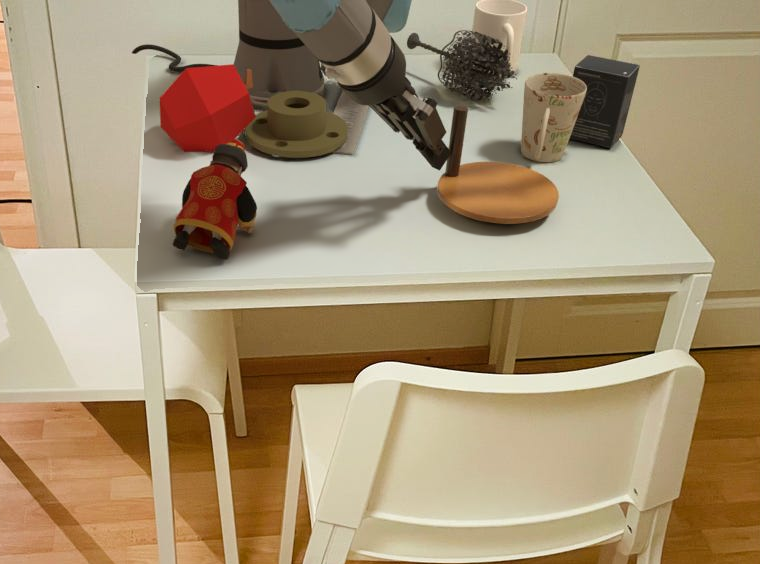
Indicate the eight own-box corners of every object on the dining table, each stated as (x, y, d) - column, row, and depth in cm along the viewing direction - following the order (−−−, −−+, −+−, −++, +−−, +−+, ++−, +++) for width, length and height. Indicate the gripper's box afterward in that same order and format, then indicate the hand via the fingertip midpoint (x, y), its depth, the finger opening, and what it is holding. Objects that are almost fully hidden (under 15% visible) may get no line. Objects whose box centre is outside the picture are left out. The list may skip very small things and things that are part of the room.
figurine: (243, 281, 117) (279, 181, 121) (233, 241, 108) (273, 134, 112) (171, 264, 118) (209, 165, 122) (156, 223, 109) (197, 118, 113)
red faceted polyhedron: (187, 182, 137) (278, 136, 138) (165, 131, 126) (265, 81, 126) (155, 123, 141) (244, 79, 142) (132, 68, 130) (228, 20, 130)
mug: (573, 145, 138) (588, 76, 131) (566, 183, 129) (583, 112, 122) (516, 137, 139) (528, 69, 132) (505, 174, 130) (518, 104, 124)
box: (622, 136, 140) (641, 64, 133) (610, 149, 136) (629, 76, 129) (571, 124, 143) (587, 53, 136) (558, 137, 139) (574, 64, 132)
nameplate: (352, 152, 134) (318, 149, 135) (352, 154, 134) (318, 151, 135) (374, 89, 151) (343, 87, 152) (374, 91, 151) (343, 89, 152)
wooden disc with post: (415, 179, 126) (423, 107, 119) (512, 159, 130) (525, 88, 124) (478, 233, 115) (491, 158, 109) (582, 209, 120) (600, 136, 113)
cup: (508, 59, 162) (519, -3, 155) (528, 87, 153) (540, 22, 146) (461, 61, 161) (470, -2, 154) (479, 88, 153) (489, 23, 146)
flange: (363, 91, 137) (269, 75, 142) (326, 133, 127) (226, 114, 132) (361, 122, 141) (270, 105, 145) (325, 165, 131) (228, 146, 135)
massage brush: (384, 38, 152) (401, 82, 159) (484, 80, 139) (498, 125, 146) (423, -3, 152) (439, 42, 160) (526, 35, 139) (538, 82, 147)
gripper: (303, 69, 107) (390, 166, 127) (384, 106, 100) (462, 203, 120) (340, 11, 106) (421, 118, 126) (425, 44, 99) (496, 152, 119)
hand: (441, 159), depth 123 cm, fingers closed
